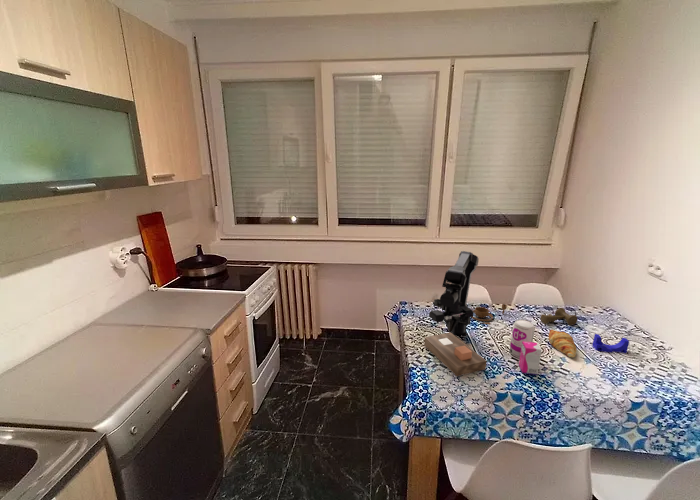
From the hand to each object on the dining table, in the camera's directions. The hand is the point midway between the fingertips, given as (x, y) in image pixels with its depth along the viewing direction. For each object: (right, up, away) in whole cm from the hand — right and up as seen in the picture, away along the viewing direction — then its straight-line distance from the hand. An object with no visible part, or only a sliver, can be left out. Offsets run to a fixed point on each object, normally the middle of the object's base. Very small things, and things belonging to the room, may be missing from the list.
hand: (449, 331), depth 144 cm
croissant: (+54, -9, +8) cm, 55 cm away
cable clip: (+74, -10, +6) cm, 75 cm away
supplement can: (+31, -11, +2) cm, 33 cm away
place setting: (+32, -2, +36) cm, 48 cm away
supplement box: (+29, -14, -9) cm, 33 cm away
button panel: (+1, -11, 0) cm, 11 cm away
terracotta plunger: (+3, -9, -7) cm, 12 cm away
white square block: (-1, -9, +5) cm, 10 cm away
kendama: (+68, -3, +32) cm, 75 cm away
